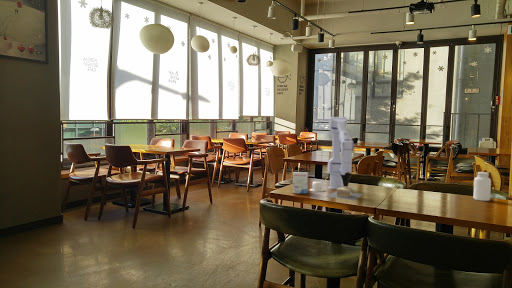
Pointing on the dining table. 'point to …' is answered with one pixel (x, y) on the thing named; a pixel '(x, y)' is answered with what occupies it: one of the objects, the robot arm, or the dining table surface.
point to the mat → (352, 197)
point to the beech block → (344, 192)
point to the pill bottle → (482, 187)
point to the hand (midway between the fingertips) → (345, 186)
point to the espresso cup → (317, 186)
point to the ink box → (300, 182)
